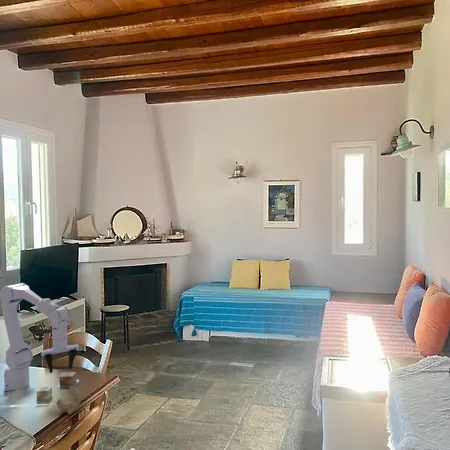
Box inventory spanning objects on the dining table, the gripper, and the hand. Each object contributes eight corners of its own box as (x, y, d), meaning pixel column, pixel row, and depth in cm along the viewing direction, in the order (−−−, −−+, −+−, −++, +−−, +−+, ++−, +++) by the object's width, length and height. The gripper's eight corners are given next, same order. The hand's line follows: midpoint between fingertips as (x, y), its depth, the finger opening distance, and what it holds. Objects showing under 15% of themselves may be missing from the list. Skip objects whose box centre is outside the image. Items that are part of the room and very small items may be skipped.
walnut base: (59, 386, 192) (59, 376, 192) (63, 381, 198) (63, 372, 198) (72, 385, 193) (72, 376, 192) (76, 380, 198) (75, 371, 198)
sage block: (36, 402, 177) (36, 391, 177) (40, 398, 182) (40, 386, 182) (48, 402, 178) (48, 390, 178) (52, 397, 182) (51, 386, 182)
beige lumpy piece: (54, 414, 162) (56, 385, 167) (55, 417, 167) (57, 389, 172) (79, 413, 164) (81, 384, 169) (79, 416, 170) (81, 388, 175)
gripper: (43, 342, 178) (44, 376, 178) (80, 336, 186) (81, 369, 186) (39, 338, 184) (40, 371, 184) (75, 332, 192) (76, 364, 192)
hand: (60, 370), depth 186 cm, fingers open, 7 cm apart
